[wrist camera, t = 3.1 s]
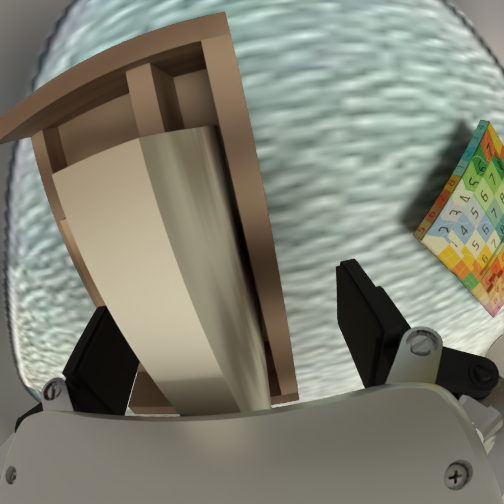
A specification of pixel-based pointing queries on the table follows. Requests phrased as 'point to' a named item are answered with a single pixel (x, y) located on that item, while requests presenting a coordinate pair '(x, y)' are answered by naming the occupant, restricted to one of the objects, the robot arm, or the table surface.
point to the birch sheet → (173, 266)
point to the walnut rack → (156, 122)
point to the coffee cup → (497, 354)
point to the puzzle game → (472, 220)
